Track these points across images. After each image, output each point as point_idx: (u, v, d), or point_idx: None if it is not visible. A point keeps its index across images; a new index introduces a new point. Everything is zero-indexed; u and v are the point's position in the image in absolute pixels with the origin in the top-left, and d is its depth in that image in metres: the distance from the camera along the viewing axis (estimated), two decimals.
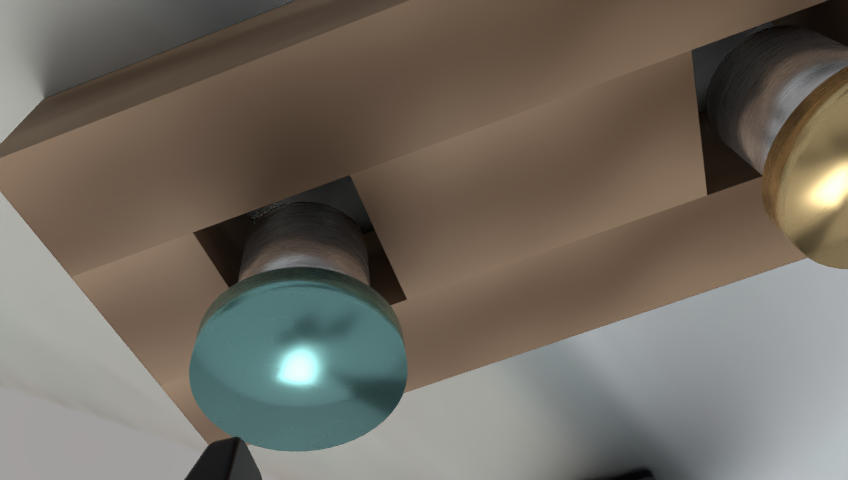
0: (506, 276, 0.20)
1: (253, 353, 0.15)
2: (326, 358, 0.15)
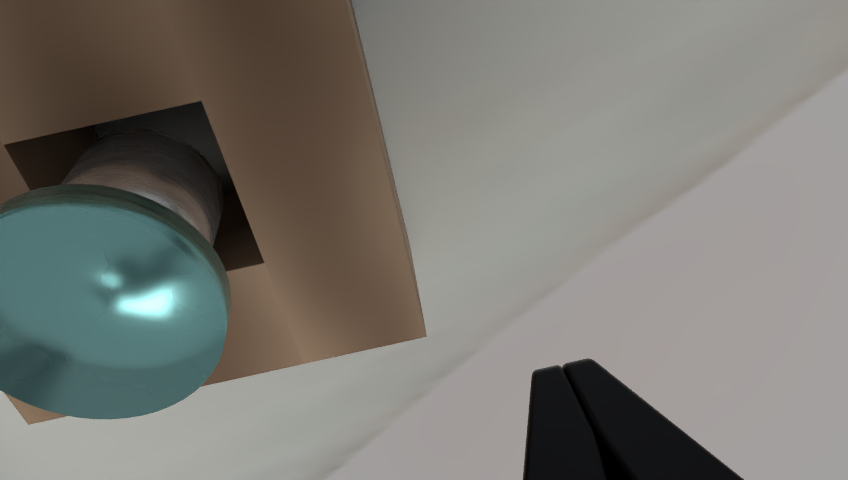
0: None
1: (44, 362, 0.13)
2: (51, 297, 0.12)
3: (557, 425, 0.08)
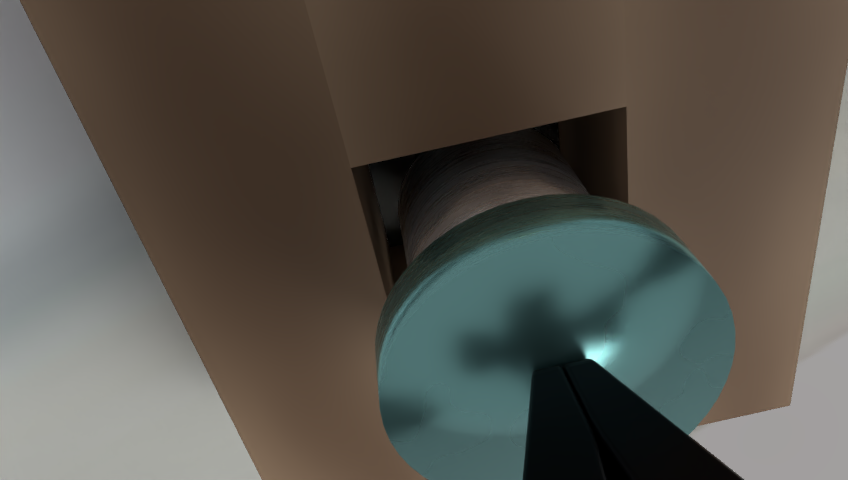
0: None
1: (482, 434, 0.10)
2: (530, 350, 0.09)
3: (557, 425, 0.08)
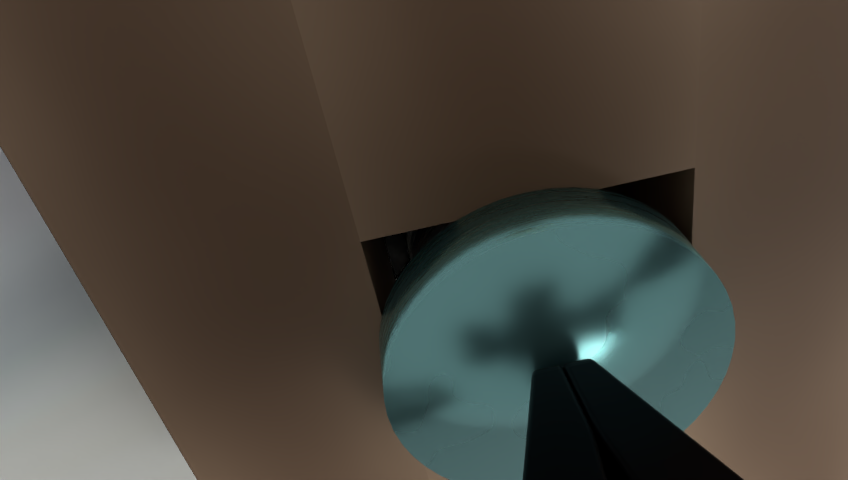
0: None
1: (485, 425, 0.10)
2: (532, 341, 0.09)
3: (556, 425, 0.08)
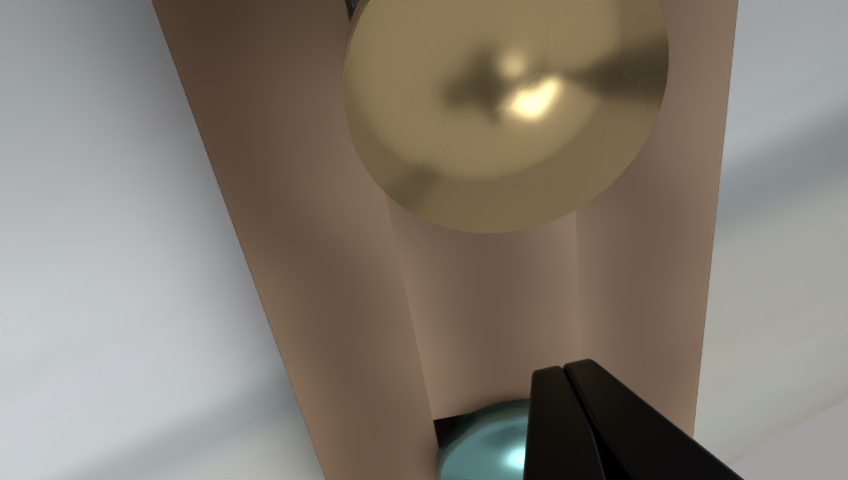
0: (592, 311, 0.19)
1: None
2: (507, 466, 0.20)
3: (557, 425, 0.08)
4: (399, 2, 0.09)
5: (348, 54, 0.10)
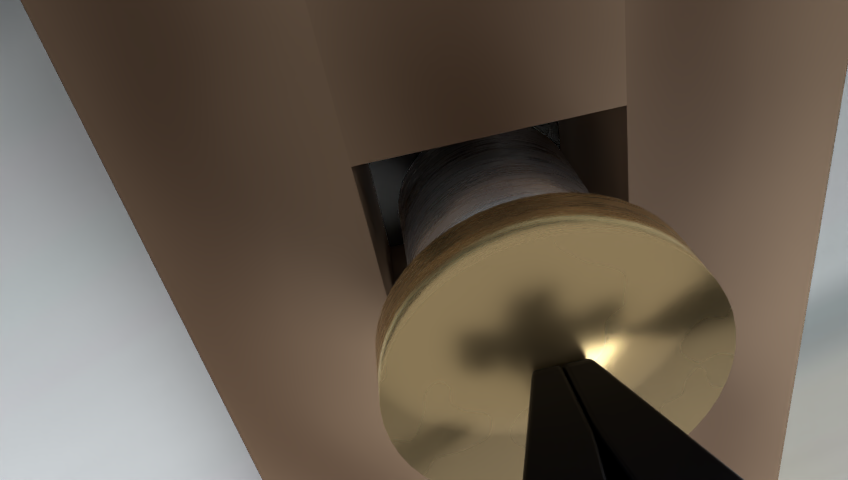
0: None
1: None
2: None
3: (557, 425, 0.08)
4: (440, 319, 0.08)
5: (384, 367, 0.09)
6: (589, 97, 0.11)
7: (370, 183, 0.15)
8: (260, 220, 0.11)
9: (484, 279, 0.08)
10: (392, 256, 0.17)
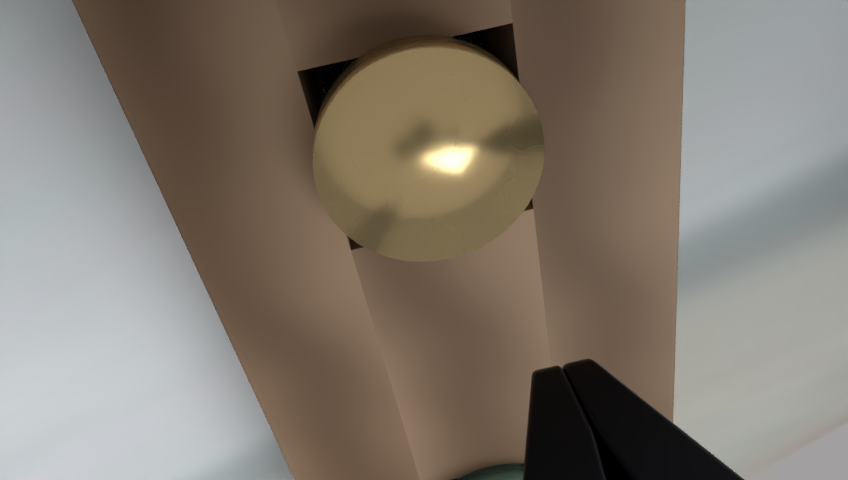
0: None
1: None
2: None
3: (557, 425, 0.08)
4: (347, 110, 0.14)
5: (314, 144, 0.14)
6: (482, 15, 0.14)
7: None
8: (227, 116, 0.14)
9: (373, 81, 0.13)
10: None
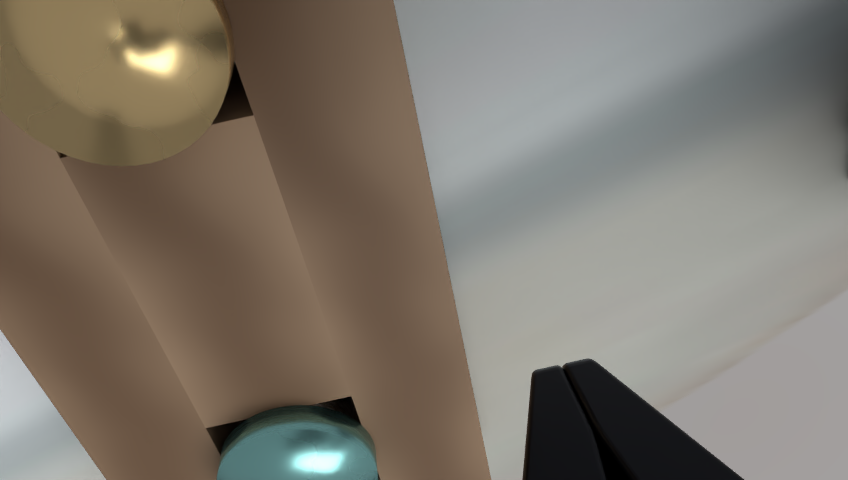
0: (338, 318, 0.19)
1: None
2: (280, 471, 0.21)
3: (557, 425, 0.08)
4: None
5: None
6: None
7: None
8: None
9: None
10: None
